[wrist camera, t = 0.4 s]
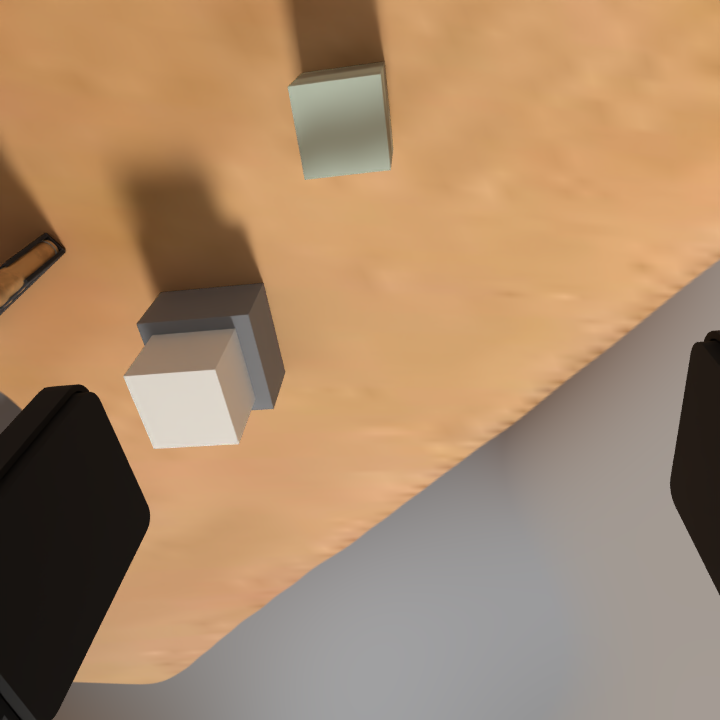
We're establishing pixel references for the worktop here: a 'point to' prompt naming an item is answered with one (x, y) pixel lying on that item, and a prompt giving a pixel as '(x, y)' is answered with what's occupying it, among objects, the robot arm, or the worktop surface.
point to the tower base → (225, 311)
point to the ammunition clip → (27, 268)
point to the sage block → (342, 120)
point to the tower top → (192, 389)
